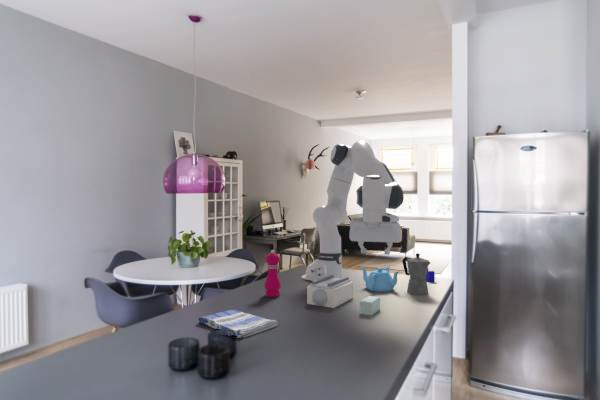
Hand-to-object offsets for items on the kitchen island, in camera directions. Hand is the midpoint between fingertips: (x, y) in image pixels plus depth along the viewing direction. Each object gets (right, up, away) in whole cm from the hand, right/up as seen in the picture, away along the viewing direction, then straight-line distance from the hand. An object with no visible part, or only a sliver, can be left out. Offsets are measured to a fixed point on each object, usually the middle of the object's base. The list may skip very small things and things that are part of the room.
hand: (375, 253), depth 155 cm
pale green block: (-2, -22, -1) cm, 22 cm away
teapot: (+9, -22, +35) cm, 42 cm away
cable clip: (+37, -22, +55) cm, 70 cm away
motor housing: (-15, -21, +15) cm, 30 cm away
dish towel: (-50, -23, -16) cm, 57 cm away
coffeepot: (+23, -22, +28) cm, 42 cm away
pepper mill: (-41, -22, +24) cm, 52 cm away
